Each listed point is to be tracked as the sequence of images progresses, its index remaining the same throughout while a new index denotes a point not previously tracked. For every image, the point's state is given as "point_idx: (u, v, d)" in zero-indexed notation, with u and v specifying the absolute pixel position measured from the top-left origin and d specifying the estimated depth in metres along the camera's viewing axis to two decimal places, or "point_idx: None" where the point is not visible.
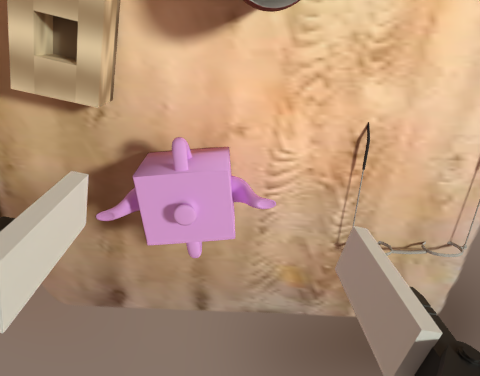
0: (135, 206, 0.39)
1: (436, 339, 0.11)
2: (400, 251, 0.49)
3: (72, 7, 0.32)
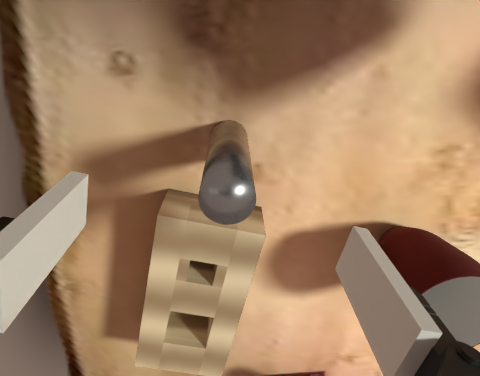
0: None
1: (436, 339, 0.11)
2: None
3: (210, 308, 0.31)
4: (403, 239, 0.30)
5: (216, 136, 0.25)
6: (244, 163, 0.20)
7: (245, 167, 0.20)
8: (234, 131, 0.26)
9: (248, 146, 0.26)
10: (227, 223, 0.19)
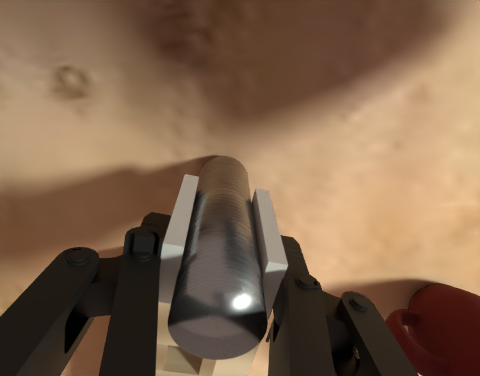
0: None
1: (284, 271, 0.12)
2: None
3: None
4: (449, 310, 0.23)
5: (204, 186, 0.17)
6: (246, 248, 0.13)
7: (248, 258, 0.12)
8: (230, 177, 0.18)
9: (250, 198, 0.18)
10: (218, 355, 0.12)
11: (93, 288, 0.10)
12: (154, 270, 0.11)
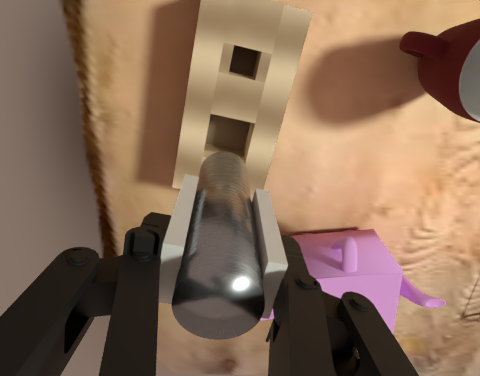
0: None
1: (284, 271, 0.12)
2: None
3: (252, 110, 0.30)
4: (450, 29, 0.29)
5: (205, 179, 0.18)
6: (245, 236, 0.13)
7: (247, 245, 0.13)
8: (230, 171, 0.19)
9: (249, 191, 0.19)
10: (218, 336, 0.12)
11: (93, 288, 0.10)
12: (154, 270, 0.11)
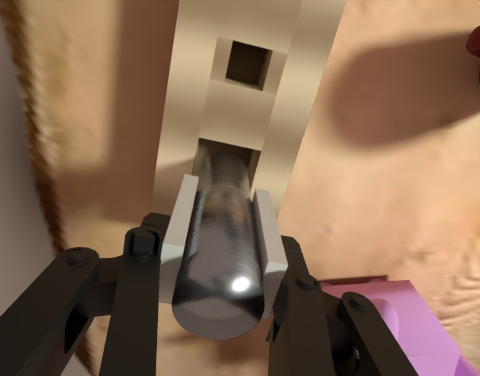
0: None
1: (284, 271, 0.12)
2: None
3: (257, 133, 0.22)
4: None
5: (205, 179, 0.18)
6: (245, 237, 0.13)
7: (247, 246, 0.13)
8: (230, 171, 0.19)
9: (249, 191, 0.19)
10: (218, 336, 0.12)
11: (93, 288, 0.10)
12: (154, 270, 0.11)
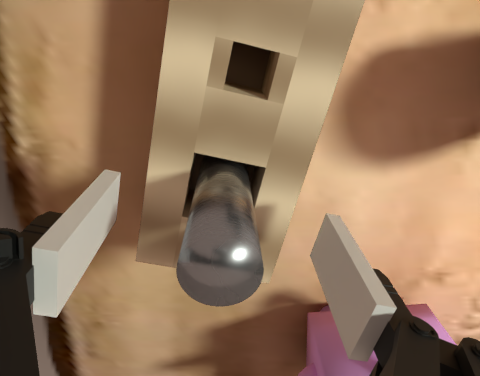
0: None
1: (391, 314, 0.12)
2: None
3: (262, 147, 0.19)
4: None
5: (207, 168, 0.19)
6: (245, 212, 0.14)
7: (247, 219, 0.14)
8: (230, 161, 0.20)
9: None
10: (220, 303, 0.13)
11: None
12: (18, 275, 0.09)
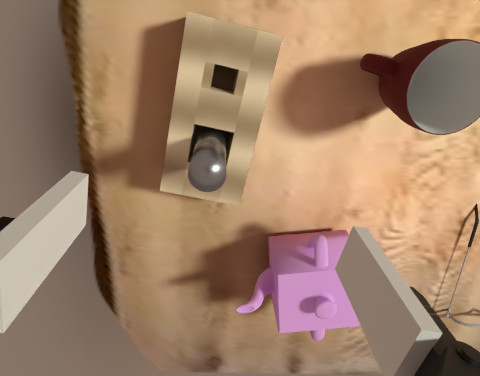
0: (265, 294, 0.41)
1: (436, 339, 0.11)
2: None
3: (231, 121, 0.34)
4: (403, 51, 0.33)
5: (201, 134, 0.35)
6: (219, 151, 0.30)
7: (220, 154, 0.29)
8: (214, 131, 0.35)
9: (225, 142, 0.35)
10: (207, 191, 0.29)
11: None
12: None
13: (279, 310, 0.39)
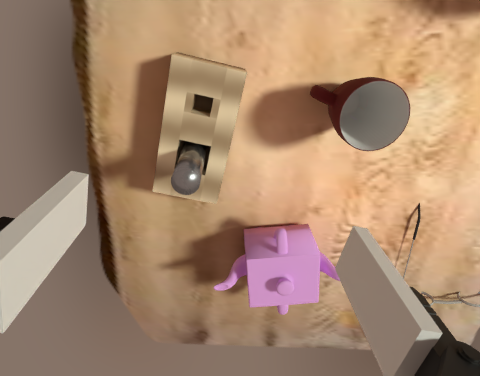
0: (239, 275, 0.50)
1: (436, 339, 0.11)
2: (440, 301, 0.60)
3: (208, 137, 0.43)
4: (345, 82, 0.42)
5: (185, 148, 0.43)
6: (196, 163, 0.39)
7: (196, 165, 0.38)
8: (196, 145, 0.44)
9: (204, 153, 0.44)
10: (186, 194, 0.38)
11: None
12: None
13: (249, 288, 0.48)
